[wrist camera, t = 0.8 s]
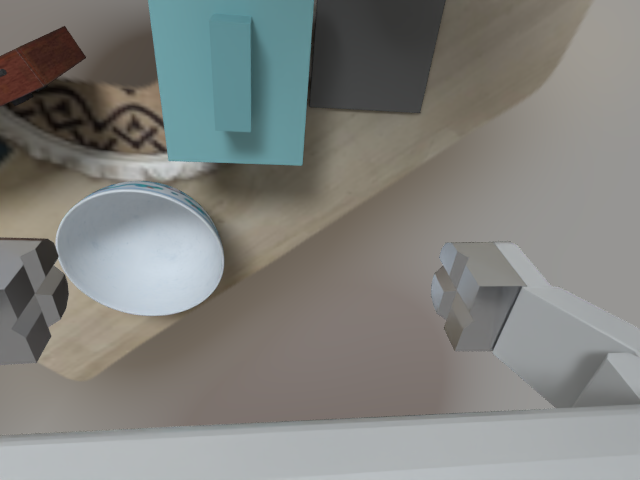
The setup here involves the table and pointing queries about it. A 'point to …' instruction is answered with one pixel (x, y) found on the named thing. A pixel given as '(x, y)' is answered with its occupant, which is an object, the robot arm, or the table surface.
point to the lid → (233, 78)
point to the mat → (373, 53)
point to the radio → (36, 65)
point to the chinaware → (141, 249)
